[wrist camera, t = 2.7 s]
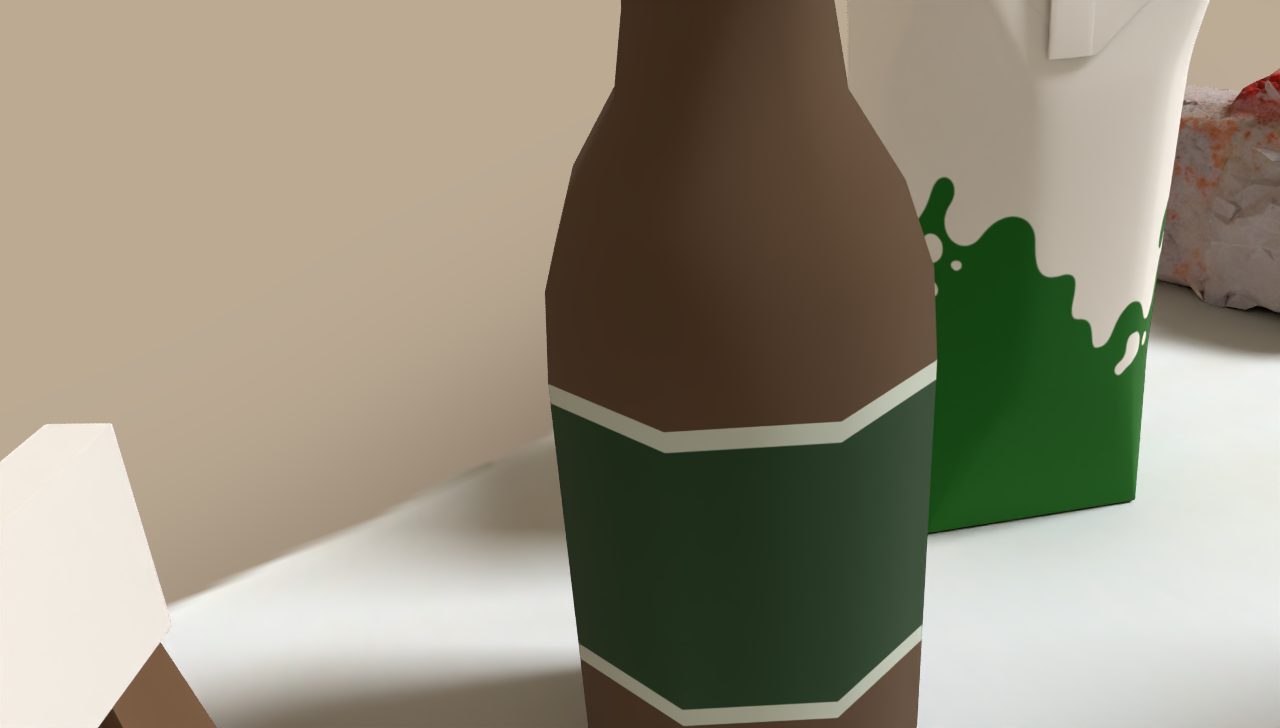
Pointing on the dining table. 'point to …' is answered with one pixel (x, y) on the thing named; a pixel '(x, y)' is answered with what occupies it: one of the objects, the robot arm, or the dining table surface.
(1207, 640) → the dining table surface
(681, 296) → the beer bottle
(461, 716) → the dining table surface
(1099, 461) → the milk carton
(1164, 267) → the food item
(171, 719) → the walnut box
